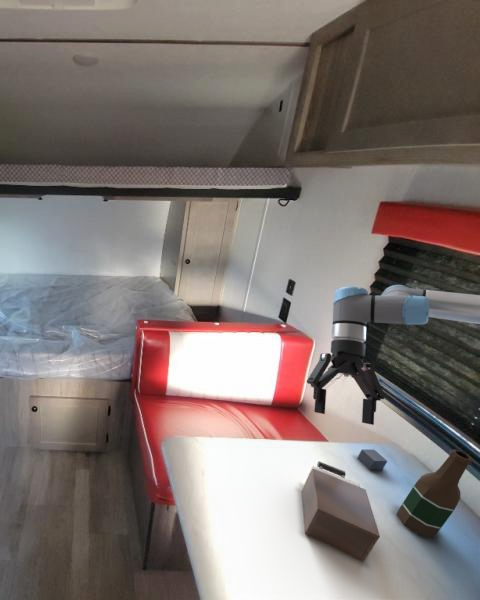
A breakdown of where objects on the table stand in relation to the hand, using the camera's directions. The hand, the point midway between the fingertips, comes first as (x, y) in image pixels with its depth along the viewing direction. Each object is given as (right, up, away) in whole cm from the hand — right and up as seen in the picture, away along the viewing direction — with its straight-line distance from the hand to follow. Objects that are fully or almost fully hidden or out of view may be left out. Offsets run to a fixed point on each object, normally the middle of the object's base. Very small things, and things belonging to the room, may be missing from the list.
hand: (343, 418), depth 90 cm
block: (+18, -19, +13) cm, 29 cm away
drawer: (-7, -22, -3) cm, 23 cm away
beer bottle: (+14, -26, -5) cm, 30 cm away
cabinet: (-9, -24, -7) cm, 27 cm away
